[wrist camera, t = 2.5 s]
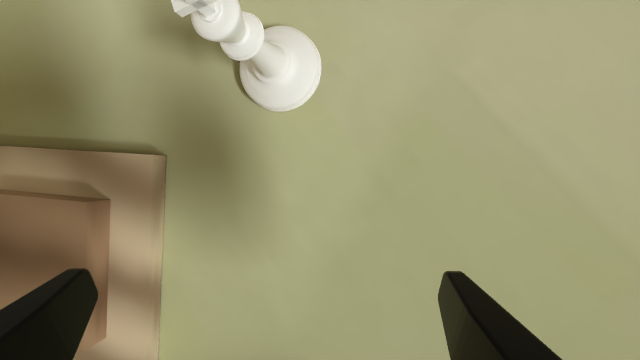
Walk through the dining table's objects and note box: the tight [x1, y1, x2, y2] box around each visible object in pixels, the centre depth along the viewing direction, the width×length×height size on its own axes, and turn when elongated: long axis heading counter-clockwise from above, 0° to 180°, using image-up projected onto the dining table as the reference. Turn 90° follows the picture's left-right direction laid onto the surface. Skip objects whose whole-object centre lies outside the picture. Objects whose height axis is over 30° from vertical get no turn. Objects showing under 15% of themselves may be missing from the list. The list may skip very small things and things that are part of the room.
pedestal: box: [0, 146, 166, 360], centre depth 23 cm, size 15×15×3 cm
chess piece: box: [171, 0, 321, 112], centre depth 16 cm, size 5×5×10 cm
